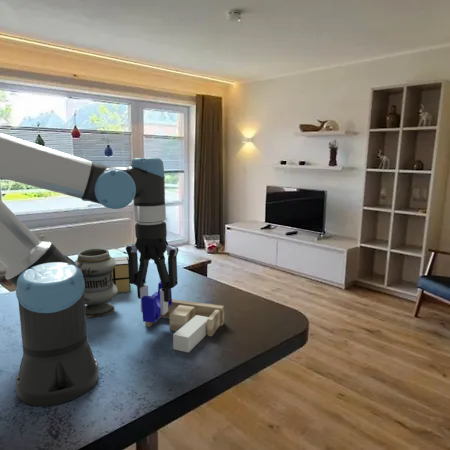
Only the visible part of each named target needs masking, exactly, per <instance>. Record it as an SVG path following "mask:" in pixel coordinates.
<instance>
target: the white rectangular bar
mask: <svg viewBox="0 0 450 450" xmlns="http://www.w3.org/2000/svg"><path fill="white" fill-rule="evenodd" d="M208 318H209V317H205V316H199V315H196V316H195V317H193V318H192V319H191V320H190V321H189V322H187V323H186V324H185V325H184V326H183V327H181V328H180V329H179V330H178V331H174V333H173V334H172V340H173V341H172V342H173V346H172V347H173V350H175V351H181V352H185V353H190V351H192V349H193V348H195V347H196V345H197V344H199V343H200V342H201V341H202V340H203V339H204V338H205V337H206V336H207V319H208Z"/></svg>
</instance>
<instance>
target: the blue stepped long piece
mask: <svg viewBox="0 0 450 450" xmlns="http://www.w3.org/2000/svg"><path fill="white" fill-rule="evenodd" d="M157 288H158V289H157V291H155V292H154V293H153V294H152V295H148V296H143V297H142V298H141V299H142V312H143V313H142V312H141V313H142V321H143V322H144V323H145V322H155V323H156V322H157V321H158V320H159V319H160V318H161V317H160V316H161V309H160V290H161V289H162V284H161V281H159V282H158V286H157ZM170 292H171V299H170V300H169V301H168V307H169V306H170V305H171V304H172V299H173V296H172V288H170ZM159 317H160V318H159ZM158 318H159V319H158ZM157 319H158V320H157ZM156 320H157V321H156Z"/></svg>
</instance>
